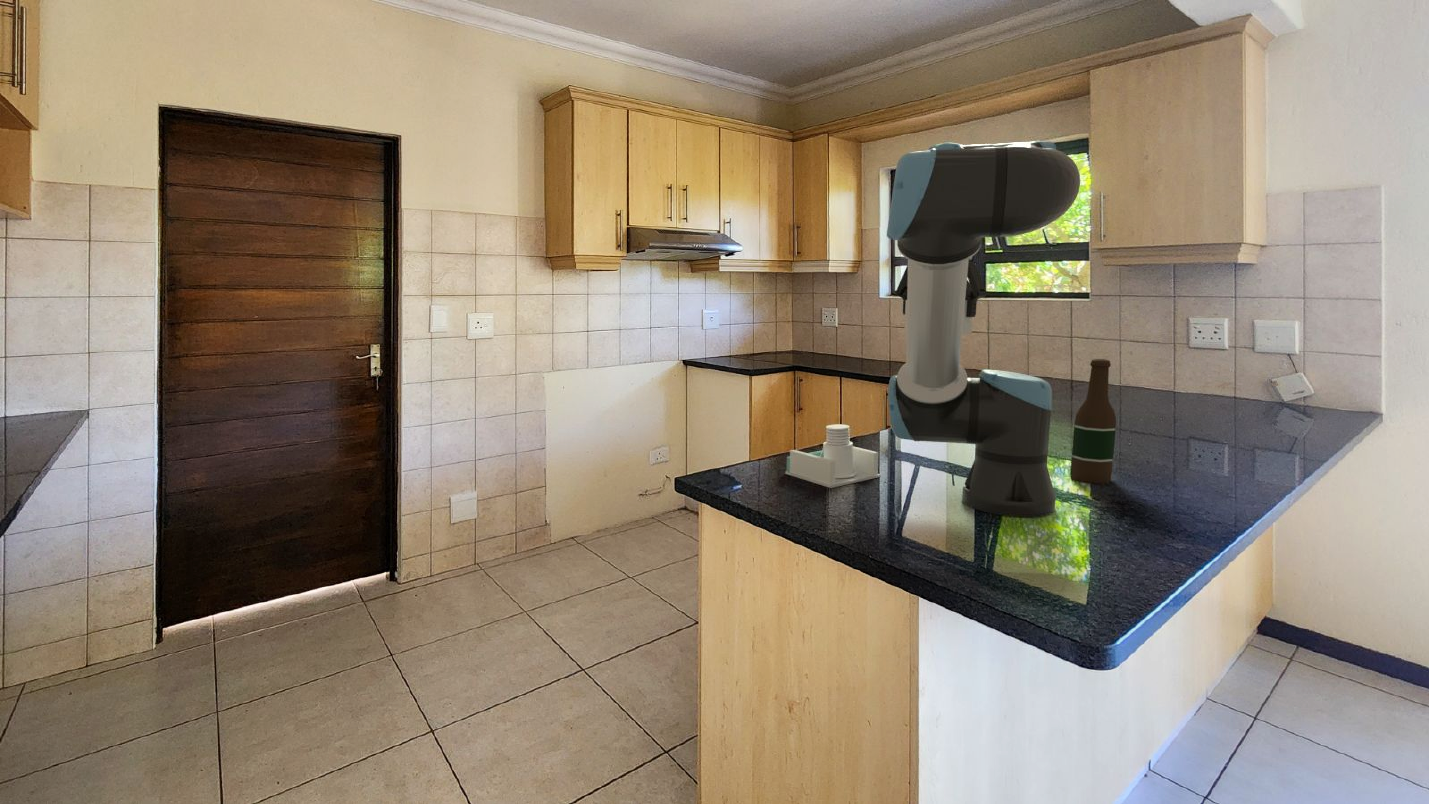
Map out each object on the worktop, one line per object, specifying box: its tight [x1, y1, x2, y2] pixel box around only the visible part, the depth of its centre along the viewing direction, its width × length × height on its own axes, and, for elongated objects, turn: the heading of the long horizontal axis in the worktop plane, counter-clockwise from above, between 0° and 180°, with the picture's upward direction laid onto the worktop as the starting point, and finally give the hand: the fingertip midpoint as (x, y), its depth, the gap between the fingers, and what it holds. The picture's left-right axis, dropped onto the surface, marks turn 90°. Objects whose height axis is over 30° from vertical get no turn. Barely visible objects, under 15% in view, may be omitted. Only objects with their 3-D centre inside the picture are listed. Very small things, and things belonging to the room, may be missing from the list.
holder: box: [784, 445, 881, 489], centre depth 143 cm, size 13×14×5 cm
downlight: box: [820, 423, 859, 478], centre depth 142 cm, size 8×7×10 cm
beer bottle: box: [1069, 358, 1117, 485], centre depth 139 cm, size 8×8×24 cm
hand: (936, 332), depth 145 cm, fingers open, 13 cm apart
